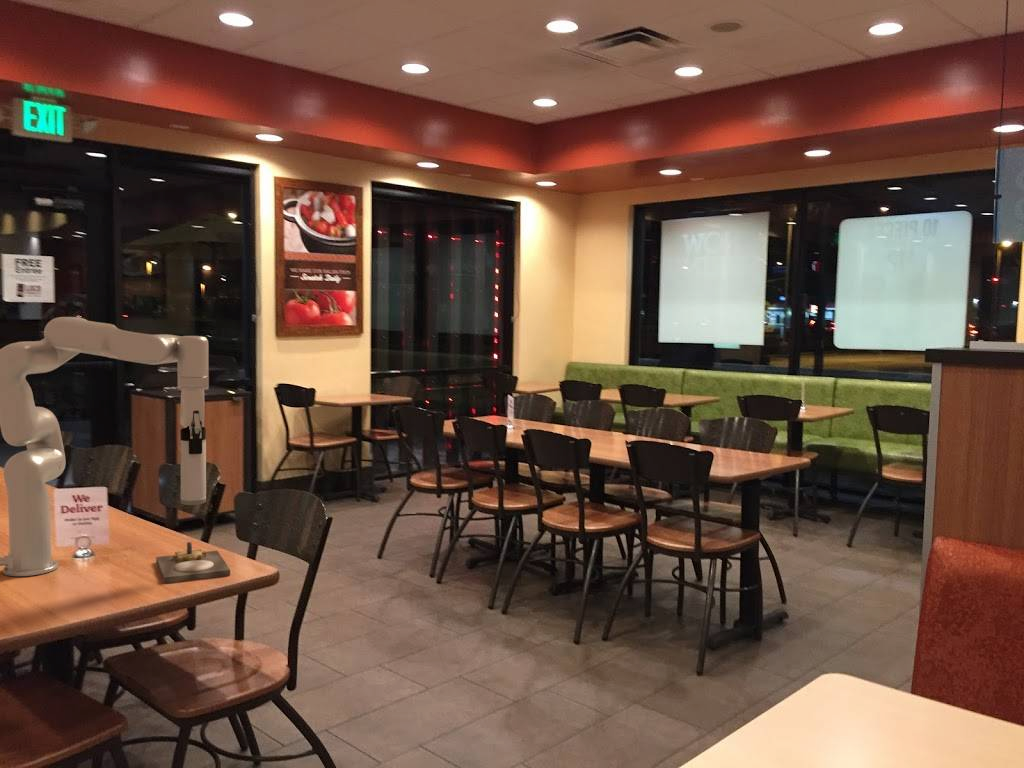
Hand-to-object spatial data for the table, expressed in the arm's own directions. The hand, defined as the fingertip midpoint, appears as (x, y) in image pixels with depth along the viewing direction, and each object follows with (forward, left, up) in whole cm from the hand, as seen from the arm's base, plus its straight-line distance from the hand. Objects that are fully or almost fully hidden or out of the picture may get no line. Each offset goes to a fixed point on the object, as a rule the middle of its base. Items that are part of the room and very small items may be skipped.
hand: (193, 451), depth 220 cm
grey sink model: (0, +3, -32) cm, 33 cm away
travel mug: (0, 0, -14) cm, 14 cm away
